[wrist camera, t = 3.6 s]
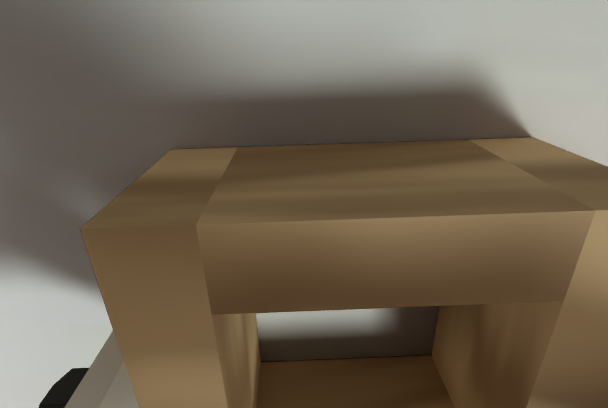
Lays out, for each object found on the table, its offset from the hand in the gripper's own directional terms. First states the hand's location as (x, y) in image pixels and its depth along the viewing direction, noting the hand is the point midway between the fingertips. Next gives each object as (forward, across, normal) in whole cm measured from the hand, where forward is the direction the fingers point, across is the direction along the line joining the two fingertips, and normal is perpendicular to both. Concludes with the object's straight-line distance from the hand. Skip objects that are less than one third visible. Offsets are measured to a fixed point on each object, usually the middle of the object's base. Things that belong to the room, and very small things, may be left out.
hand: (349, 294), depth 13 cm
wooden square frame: (0, 0, 0) cm, 0 cm away
